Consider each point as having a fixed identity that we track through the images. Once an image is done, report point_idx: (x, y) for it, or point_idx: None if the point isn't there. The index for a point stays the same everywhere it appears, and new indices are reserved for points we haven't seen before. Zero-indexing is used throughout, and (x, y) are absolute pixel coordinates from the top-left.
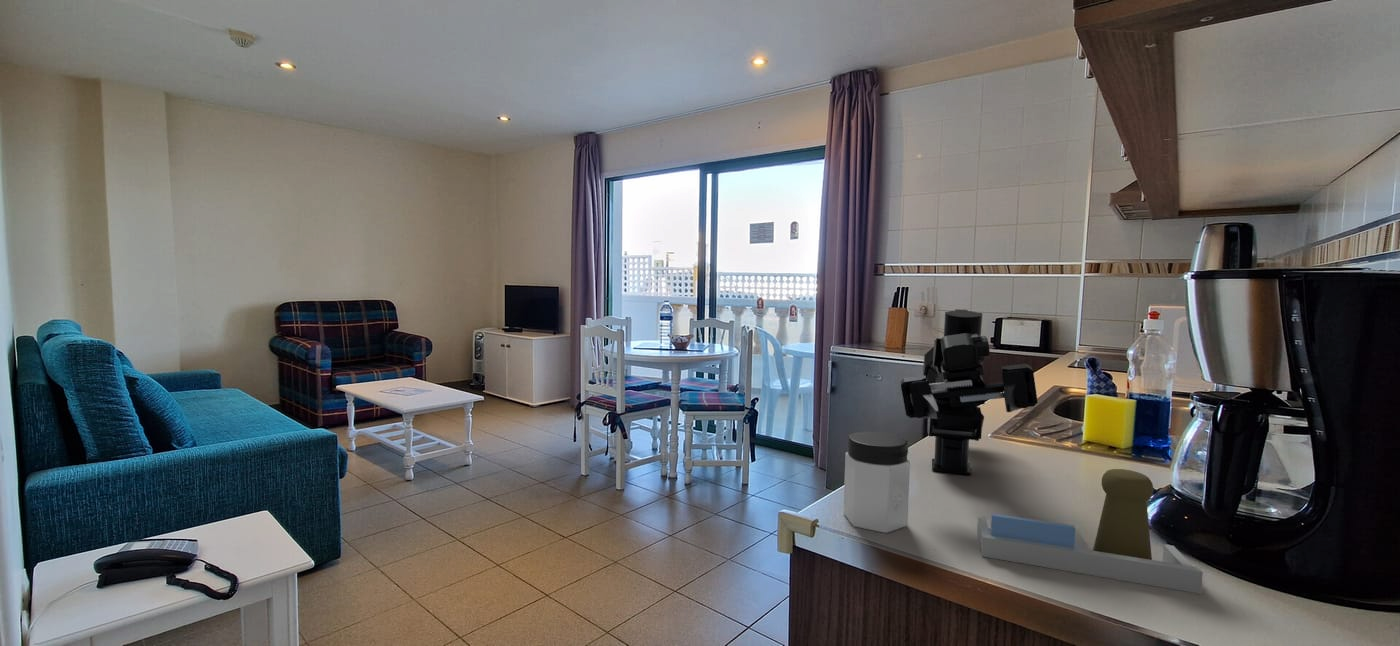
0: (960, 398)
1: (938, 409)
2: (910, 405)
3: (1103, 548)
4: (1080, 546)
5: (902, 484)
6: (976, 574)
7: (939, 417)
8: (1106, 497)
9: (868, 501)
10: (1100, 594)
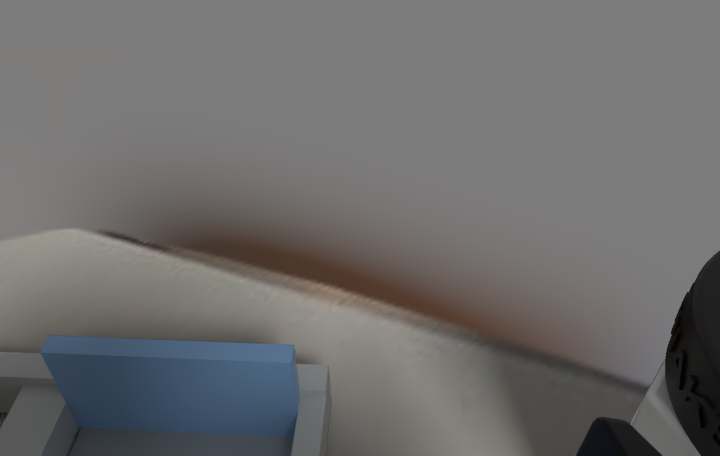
0: None
1: (616, 441)
2: None
3: None
4: (23, 428)
5: (637, 411)
6: (362, 311)
7: (580, 454)
8: None
9: None
10: (101, 311)
